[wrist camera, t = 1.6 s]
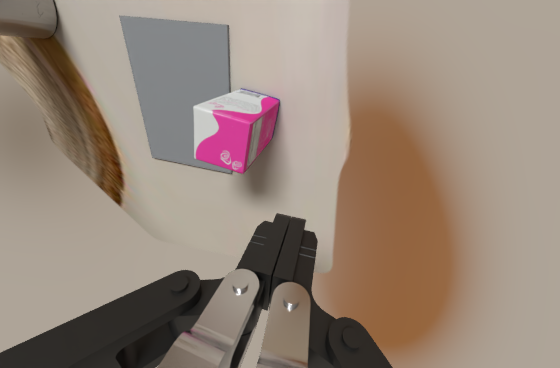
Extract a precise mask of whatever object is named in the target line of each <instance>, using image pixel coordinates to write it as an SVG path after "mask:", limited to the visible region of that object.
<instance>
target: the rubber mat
mask: <svg viewBox="0 0 560 368" xmlns="http://www.w3.org/2000/svg"><path fill="white" fill-rule="evenodd" d="M119 17H120V21H121V25H122V30H123V34H124V38H125V43H126V47H127V51H128V55H129V60H130V64H131V68H132V73H133V77H134V81H135V86H136V90H137V94H138V99H139V103H140V107H141V112H142V116H143V120H144V124H145V129H146V133H147V137H148V142H149V146H150V150H151V155H152V158H157V159H162V160H167V161H172V162H177V163H182V164H187V165H191V166H196V167H201V168H206V169H211V170H216V171H221V172H226V173H231V174H232V170H229V169H226V168H223V167H220V166H216V165H213V164H210V163H207V162H204V161H200V160H197V159H195V158H194V111H193V106H195V105H198V104H201V103H203V102H206V101H209V100H212V99H214V98H217V97H220V96H223V95H225V94H228V93H230V61H229V25H221V24H210V23H199V22H187V21H176V20H164V19H153V18H141V17H130V16H119Z"/></svg>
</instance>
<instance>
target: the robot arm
mask: <svg viewBox="0 0 560 368" xmlns="http://www.w3.org/2000/svg"><path fill="white" fill-rule="evenodd" d="M56 25H57V16H56V10H55V6H54V3H53V0H0V35H2V36H15V37H29V38H43V39H45V38H49V37H50V36H52V35H53V33H54V32H55V29H56ZM305 222H306V220H305V219H301V218H296V217H292V218H291V216H287V215H283V214H278V213H277V214H276V216H275V219H274V221H273V223H272V222H268V221H264V222H263V223H261V224H260V225H259V226H257V228H256V230H255V232H254V235H253V236H252V238H251V240H250V242H249V244H248V246H247V248H246V250H245V252H244V254H243V256H242V258H241V260H240V262H239V264H238V266H237V268H236V269H235V270H234V271H232V272H230V273H229V274H228V275H227V276H226V277H224V278H221V279H214V280H200V279H199V277H198V275H197V274H196V273H195V272H193V271H189V270H181V271H177V272H175V273H173V274H170V275H168V276H166V277H164V278H162V279H160V280H157V281H155V282H153V283H151V284H149V285H147V286H144V287H142V288H140V289H138V290H136V291H134V292H131V293H129V294H127V295H125V296H123V297H120V298H118V299H116V300H114V301H112V302H109V303H107V304H105V305H103V306H101V307H99V308H97V309H94V310H92V311H90V312H88V313H86V314H83V315H81V316H79V317H77V318H75V319H73V320H70V321H68V322H66V323H64V324H62V325H60V326H57V327H55V328H53V329H51V330H49V331H47V332H44V333H42V334H40V335H38V336H36V337H34V338H31V339H29V340H27V341H25V342H23V343H20V344H18V345H16V346H14V347H12V348H10V349H7V350H5V351H3V352H1V353H0V368H155V367H157V366H158V365H159V366H158V367H157V368H240V367H241V364H242V362H243V359H244V356H245V354H246V352H247V349H248V346H249V344H250V342H251V339H252V337H253V334H254V332H255V329H256V325H257V322H258V319H259V316H260V313H261V310H262V309H264V310H268V307H269V314H268V319H267V324H266V328H265V333H264V338H263V343H262V347H261V352H260V356H259V360H258V362H257V367H256V368H392V366H391V365H390V363H389V362H388V360H387V359H386V357H385V356H384V355H383V353H382V352H381V350H380V349H379V347H378V346H377V345H376V343H375V342H374V340H373V339H372V338H371V336H370V335H369V333H368V332H367V330H366V329H365V328H364V327H363V326H362V325H361V324H360V323H359V322H357V321H355V320H353V319H351V318H347V317H342V318H338V319H335V318H334V317H332V316H331V315H329V314H328V313H326V312H325V311H323V310H322V309H321V308H320V307H319V306H318V305H317V304H316V302H315V301H314V299H313V296H312V291H311V287H312V279H313V272H314V264H315V257H316V249H317V242H318V241H317V238H316V235H315V233H314V232H311V231H306V230H304V228H305ZM269 304H270V306H269Z"/></svg>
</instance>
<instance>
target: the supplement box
mask: <svg viewBox="0 0 560 368" xmlns="http://www.w3.org/2000/svg"><path fill="white" fill-rule="evenodd" d="M279 103H280V100H279V99H277V98H273V97H270V96H267V95H263V94H260V93H256V92H253V91H249V90H245V89H242V88H241V89H239V90H236V91H234V92H231V93H228V94H225V95H223V96H220V97H217V98H214V99H212V100H209V101H206V102H203V103H201V104H198V105H195V106H193V111H194V158H195V159H197V160H200V161H204V162H207V163H210V164H213V165H216V166H220V167H223V168H226V169H229V170H232V171H235V172H238V173H242V174H243V173H244V172H245V171H246V170H247V169H248V168H249V166H250V165H251V164H252V163H253V161H254V160H255V159H256V158H257V156H258V155H259V154H260V153H261V151H262V150H263V149H264V148H265V147H266V145H267V144H268V143H269V142H270V140H271V139H272V137H273V132H274V127H275V123H276V118H277V113H278V108H279Z"/></svg>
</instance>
